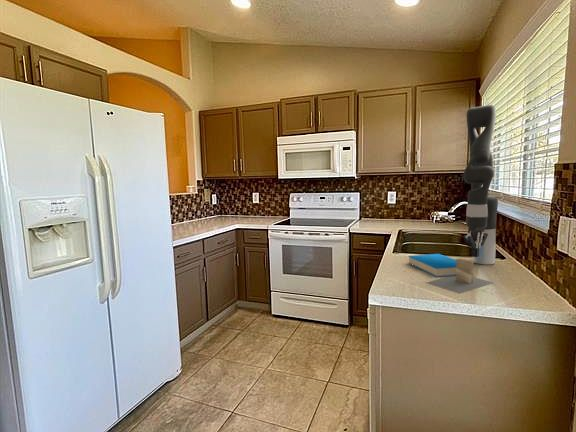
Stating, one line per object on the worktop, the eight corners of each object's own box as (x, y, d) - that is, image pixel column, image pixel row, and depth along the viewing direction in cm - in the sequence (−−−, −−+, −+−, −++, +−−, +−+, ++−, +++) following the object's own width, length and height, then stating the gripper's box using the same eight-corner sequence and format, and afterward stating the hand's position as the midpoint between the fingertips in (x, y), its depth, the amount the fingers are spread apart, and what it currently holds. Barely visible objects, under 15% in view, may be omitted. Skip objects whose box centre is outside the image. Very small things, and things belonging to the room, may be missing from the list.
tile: (459, 278, 137) (460, 257, 136) (473, 282, 132) (474, 260, 131) (455, 279, 136) (456, 258, 135) (469, 283, 131) (470, 261, 130)
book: (436, 268, 140) (407, 255, 165) (436, 277, 141) (407, 263, 165) (473, 265, 142) (439, 252, 167) (472, 274, 143) (439, 261, 167)
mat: (459, 274, 144) (459, 273, 144) (494, 284, 131) (494, 282, 131) (425, 284, 134) (425, 282, 134) (459, 295, 121) (459, 293, 121)
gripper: (477, 213, 140) (476, 252, 142) (457, 215, 134) (456, 256, 136) (495, 214, 134) (493, 256, 136) (475, 217, 128) (473, 260, 130)
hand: (475, 256), depth 136 cm, fingers closed
